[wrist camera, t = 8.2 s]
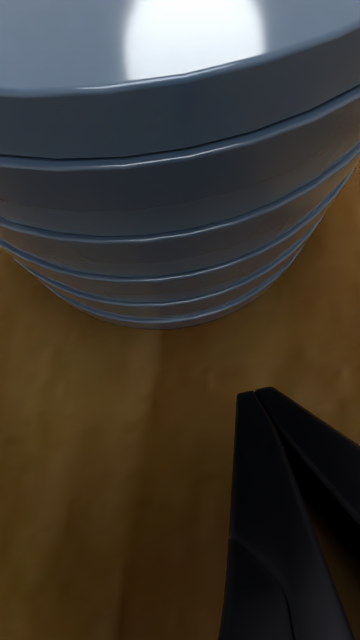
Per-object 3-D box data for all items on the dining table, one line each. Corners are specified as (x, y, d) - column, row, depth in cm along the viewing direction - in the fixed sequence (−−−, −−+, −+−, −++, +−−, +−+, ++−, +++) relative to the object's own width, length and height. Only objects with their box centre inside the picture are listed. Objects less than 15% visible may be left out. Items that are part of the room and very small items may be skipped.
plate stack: (323, 339, 15) (737, 110, 4) (-19, 320, 16) (-550, 94, 5) (307, 73, 20) (467, -399, 8) (43, 71, 21) (-145, -353, 9)
